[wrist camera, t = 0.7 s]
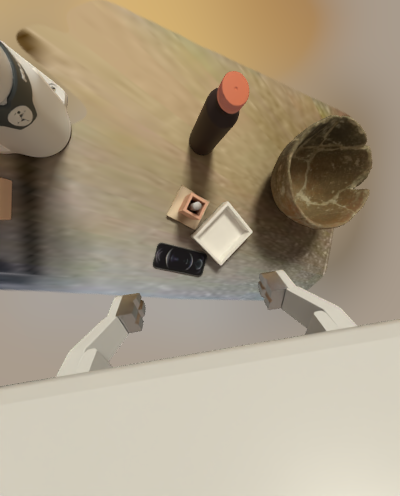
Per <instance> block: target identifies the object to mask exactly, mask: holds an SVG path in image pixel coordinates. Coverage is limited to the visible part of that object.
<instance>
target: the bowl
mask: <svg viewBox="0 0 400 496" xmlns="http://www.w3.org/2000/svg"><path fill="white" fill-rule="evenodd" d="M366 142H367V138H366V133H365V132H364V130H363V129H362V127H361V126H360V125H359V124H358V123H357V122H356V121H355V120H354V119H352V118H350V117H348V116H341V117H339V116H337V115H333V116H328V117H326V118H324V119H321V120H320V121H318V122H316V123H314V124H312V125H311V126H309V127H308V128H306V129H305V130H304V131H303V132H301V133H300V134H299V135H297V136H296V137H295V138H294V139H293V140H292V141H291V142H290V143H289V144H288V145H287V146H286V147H285V148H284V150H283V151H282V153H281V154H280V156H279V158H278V160H277V162H276V164H275V167H274V169H273V172H272V176H271V190H272V195H273V198H274V201H275V203H276V205H277V206H278V208H279V209H280V210H281V211H282V212H283V213H284V214H285V215H286V216H287V217H289V218H290V219H292V220H293V221H295V222H296V223H299V224H301V225H304V226H307V227H309V228H312V229H331V228H336V227H340V226H342V225H344V224H345V223H347V222H348V221H350V220H351V219H352V218H353V217H354V216H355V214H356V213H357V212H359V211H360V209H361V208H362V207H363V205H364V204H365V202H366V200H367V198H368V195H369V190H368V189H359V190H356V189H354V188H355V187H357V186H358V185H360V184H361V183H362V182H363V181H364V180H365V179H366V178H367V177H368V174H369V172H370V169H371V168H372V157H371V149H370V147H369V146H366V145H365V144H366Z"/></svg>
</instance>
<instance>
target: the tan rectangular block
mask: <svg viewBox="0 0 400 496" xmlns="http://www.w3.org/2000/svg"><path fill="white" fill-rule="evenodd" d="M11 204H12V181H11V180H8V179H4V178H1V177H0V220H11Z"/></svg>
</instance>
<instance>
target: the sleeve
mask: <svg viewBox="0 0 400 496" xmlns="http://www.w3.org/2000/svg"><path fill="white" fill-rule="evenodd" d="M190 202H191V203H195V202H200V203H201V205H202V207H201V209H200V210H195V211H194V213H192V212H190V211H188V210H187V207H188V205H189V203H190ZM208 203H209V202H207V201H206V200H204V199H202V198H201V197H199V196H197V195H196V194H194V193H192V192H191V193H190V194H188V195H187V196H185V198H184V200H183V202H182V204H181V206H180V208H179V210H178V212H179V213H181V214H183V215H185V216H187V217H188V218H190V219H192V220H200V219H201V217H202V215H203V213H204V211H205V209H206V207H207V205H208Z"/></svg>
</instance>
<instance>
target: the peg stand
mask: <svg viewBox="0 0 400 496" xmlns="http://www.w3.org/2000/svg"><path fill="white" fill-rule="evenodd" d="M191 192H192V193H194V192H193V191H191V190H189V189H188V188H186V187H184V186H183V185H181V187H180V189H179V191H178V193H177V195H176V197H175V199H174V201H173V203H172V205H171V207H170V209H169V211H168V213H167V216H169V217H171V218H173V219H175V220H177V221H179V222H181V223H182V224H184V225H186V226H188V227H190V228H192V229H194V230H196V228H197V226H198V224H199V222H200V220H201V219H200V220H192V219H190V218H188V217H187V216H185V215H183V214H181V213H179V212H178V210H179V208H180V206H181V204H182V202H183V200H184V198H185V196H187V195H188V194H190V193H191ZM194 194H196V193H194ZM196 195H197V196H199V195H198V194H196ZM199 197H201V196H199ZM201 198H202V197H201ZM202 199H204V198H202ZM204 200H206V199H204ZM206 201H207V200H206ZM207 202H209V201H207ZM208 204H209V203H208ZM207 206H208V205H207ZM201 207H202V205H201V203H200V202H195V203H191V202H190V203H189V205H188V207H187V210H188V211H190V212H192V213H194V211H195V210H200V209H201ZM206 208H207V207H206ZM205 210H206V209H205ZM204 212H205V211H204ZM203 214H204V213H203ZM202 216H203V215H202ZM201 218H202V217H201Z"/></svg>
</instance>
